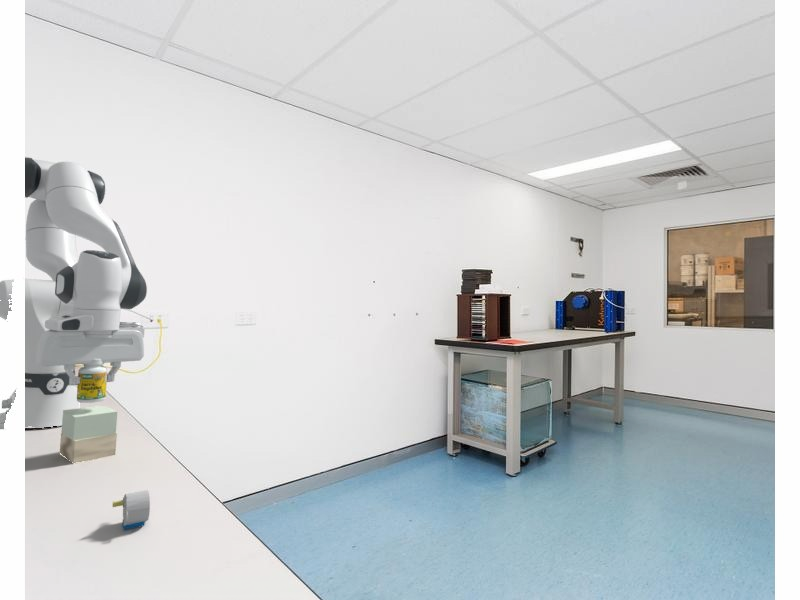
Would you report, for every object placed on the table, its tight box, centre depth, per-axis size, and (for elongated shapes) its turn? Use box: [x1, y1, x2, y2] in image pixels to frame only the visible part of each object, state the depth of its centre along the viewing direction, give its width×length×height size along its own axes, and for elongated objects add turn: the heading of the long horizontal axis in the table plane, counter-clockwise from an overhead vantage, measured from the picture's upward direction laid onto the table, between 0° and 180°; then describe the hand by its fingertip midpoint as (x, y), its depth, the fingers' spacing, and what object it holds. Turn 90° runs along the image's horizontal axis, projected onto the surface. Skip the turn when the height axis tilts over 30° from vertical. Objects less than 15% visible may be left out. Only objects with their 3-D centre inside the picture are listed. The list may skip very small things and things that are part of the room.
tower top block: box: [60, 404, 118, 441], centre depth 97 cm, size 8×8×5 cm
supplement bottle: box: [76, 359, 108, 404], centre depth 98 cm, size 5×5×10 cm
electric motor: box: [112, 489, 151, 531], centre depth 69 cm, size 7×5×5 cm
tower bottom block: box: [59, 432, 118, 464], centre depth 97 cm, size 8×8×5 cm
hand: (92, 383), depth 98 cm, fingers closed on supplement bottle, 5 cm apart
